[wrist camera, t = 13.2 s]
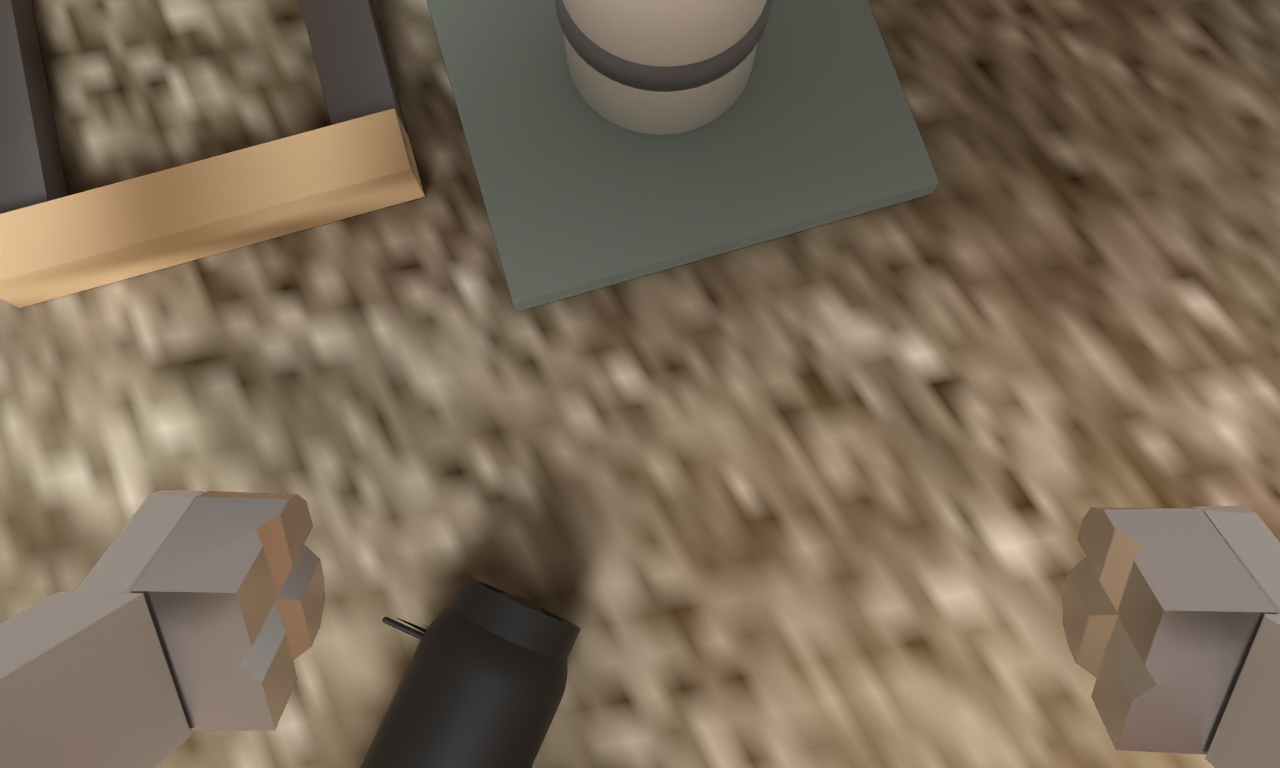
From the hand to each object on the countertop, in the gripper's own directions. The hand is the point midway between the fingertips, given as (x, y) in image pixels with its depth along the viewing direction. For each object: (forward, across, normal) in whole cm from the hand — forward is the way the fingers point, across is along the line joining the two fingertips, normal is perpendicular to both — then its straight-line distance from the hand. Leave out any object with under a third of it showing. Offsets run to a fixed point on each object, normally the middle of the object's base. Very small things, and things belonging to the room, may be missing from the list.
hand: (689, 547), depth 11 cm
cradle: (+16, +12, -1) cm, 20 cm away
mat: (+16, +1, -1) cm, 16 cm away
